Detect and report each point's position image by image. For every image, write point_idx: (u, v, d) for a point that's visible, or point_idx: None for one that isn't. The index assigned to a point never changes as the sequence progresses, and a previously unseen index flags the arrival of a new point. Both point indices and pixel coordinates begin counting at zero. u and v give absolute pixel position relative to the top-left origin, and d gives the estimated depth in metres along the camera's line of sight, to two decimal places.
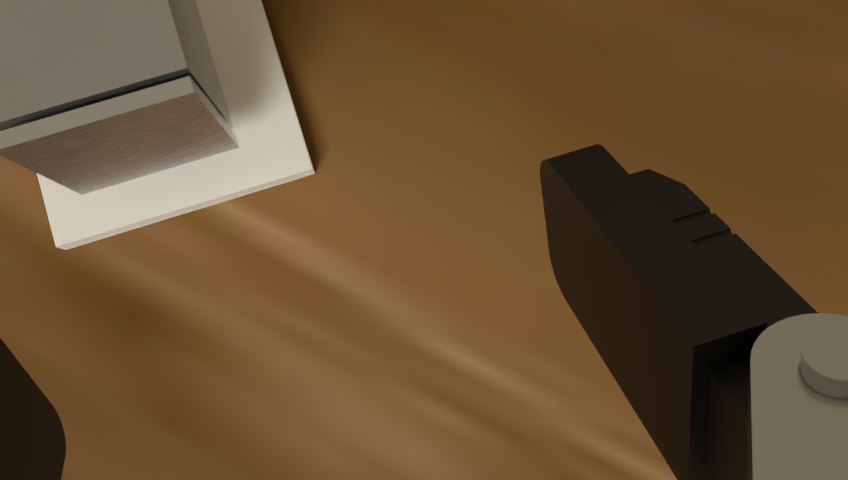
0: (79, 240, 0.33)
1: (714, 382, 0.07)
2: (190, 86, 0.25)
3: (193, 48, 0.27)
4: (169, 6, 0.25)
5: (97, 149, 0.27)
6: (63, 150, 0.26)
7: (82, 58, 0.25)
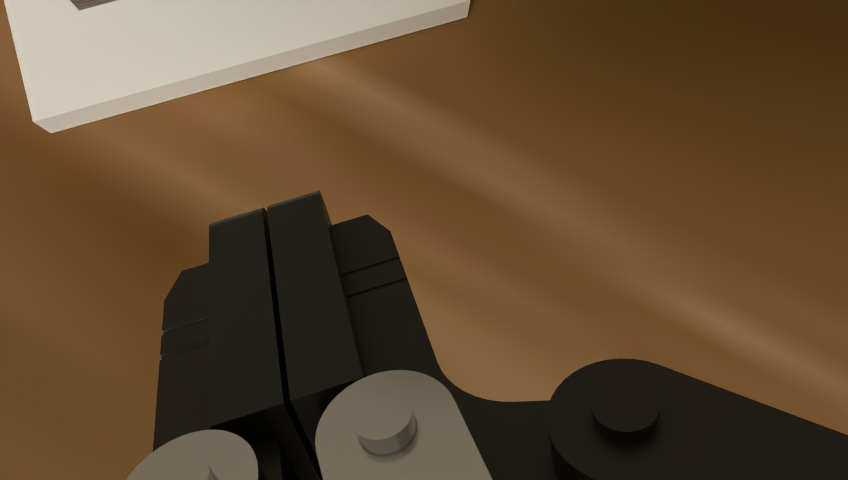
0: (74, 112, 0.19)
1: None
2: None
3: None
4: None
5: None
6: None
7: None
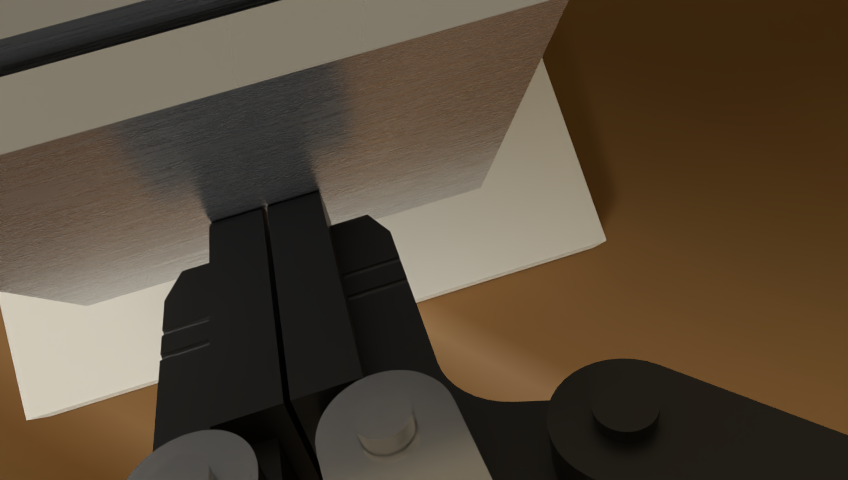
0: (81, 403, 0.14)
1: None
2: None
3: None
4: None
5: (144, 209, 0.08)
6: (26, 219, 0.07)
7: None
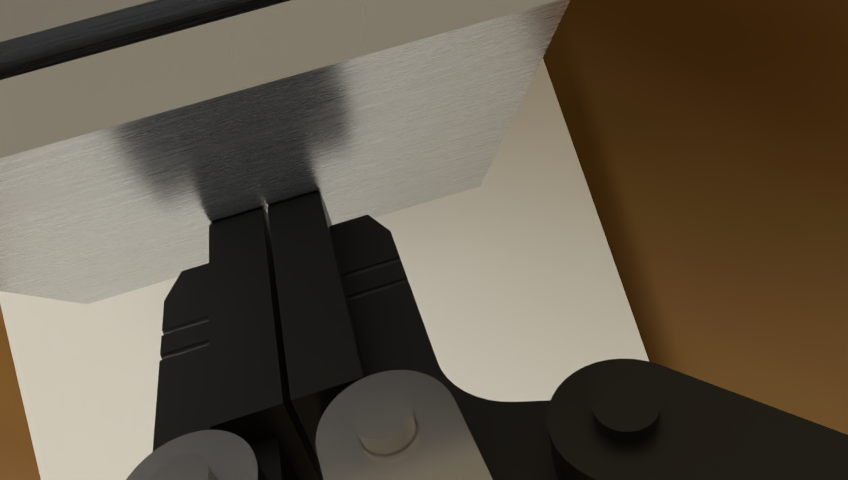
0: None
1: None
2: None
3: None
4: None
5: (144, 210, 0.08)
6: (26, 220, 0.07)
7: None
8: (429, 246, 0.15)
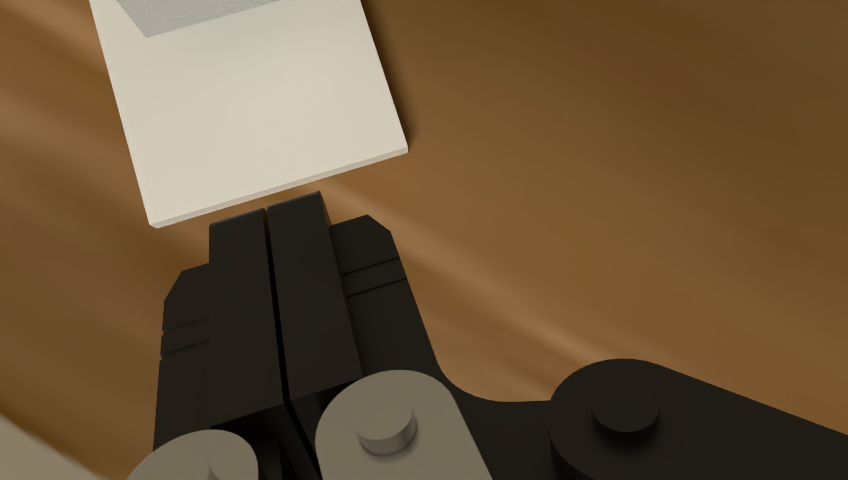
0: (172, 218, 0.33)
1: None
2: None
3: None
4: None
5: None
6: None
7: None
8: (291, 34, 0.34)
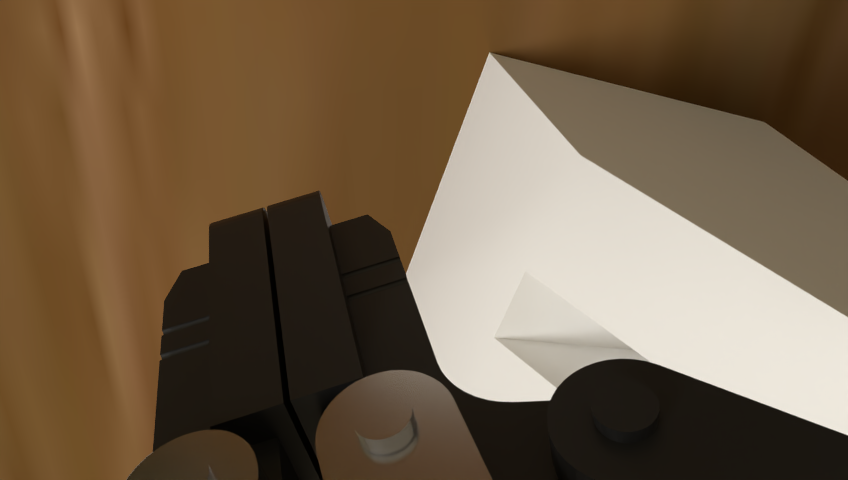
0: None
1: None
2: None
3: None
4: None
5: None
6: None
7: None
8: None
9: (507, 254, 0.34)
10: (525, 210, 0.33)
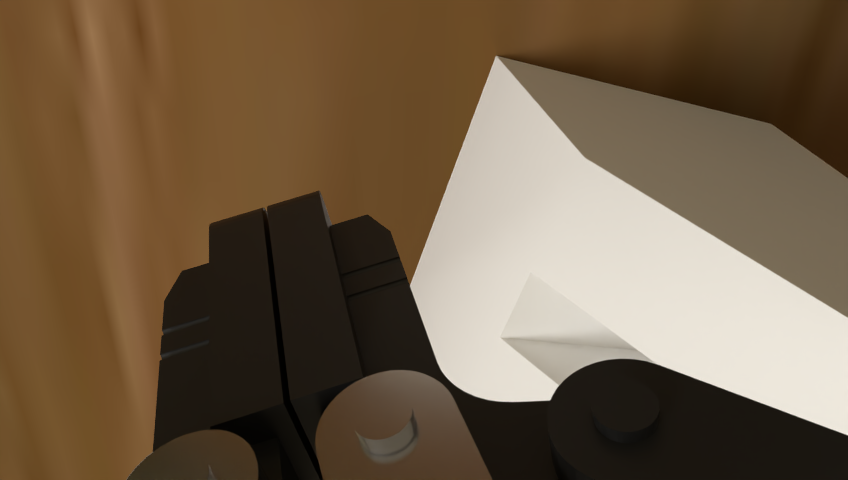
0: None
1: None
2: None
3: None
4: None
5: None
6: None
7: None
8: None
9: (513, 255, 0.34)
10: (531, 211, 0.33)
